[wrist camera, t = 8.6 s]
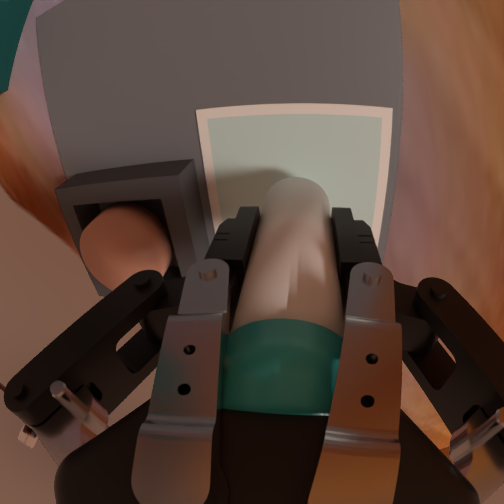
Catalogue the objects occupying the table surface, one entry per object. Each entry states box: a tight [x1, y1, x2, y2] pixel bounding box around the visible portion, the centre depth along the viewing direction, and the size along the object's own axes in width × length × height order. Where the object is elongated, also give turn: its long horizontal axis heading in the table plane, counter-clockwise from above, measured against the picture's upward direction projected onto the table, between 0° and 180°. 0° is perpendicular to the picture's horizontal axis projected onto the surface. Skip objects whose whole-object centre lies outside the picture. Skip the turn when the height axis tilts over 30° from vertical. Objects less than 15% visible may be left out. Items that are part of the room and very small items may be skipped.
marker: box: [222, 177, 344, 416], centre depth 10 cm, size 3×3×10 cm
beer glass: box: [18, 424, 38, 449], centre depth 71 cm, size 7×7×15 cm
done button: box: [80, 202, 174, 291], centre depth 15 cm, size 5×5×2 cm
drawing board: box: [36, 0, 403, 297], centre depth 13 cm, size 20×19×3 cm
